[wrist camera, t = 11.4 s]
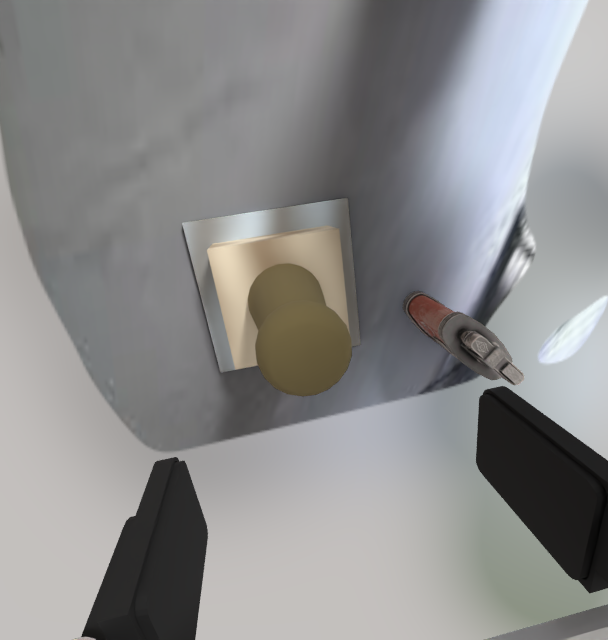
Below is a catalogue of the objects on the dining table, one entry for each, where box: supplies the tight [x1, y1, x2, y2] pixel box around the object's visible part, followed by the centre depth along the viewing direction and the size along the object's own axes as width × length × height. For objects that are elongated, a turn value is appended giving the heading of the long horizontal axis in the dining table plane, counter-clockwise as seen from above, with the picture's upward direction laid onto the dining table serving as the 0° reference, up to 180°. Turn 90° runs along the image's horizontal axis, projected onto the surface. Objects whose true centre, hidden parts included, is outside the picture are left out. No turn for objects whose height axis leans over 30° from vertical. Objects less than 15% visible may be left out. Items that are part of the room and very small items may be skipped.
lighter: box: [403, 291, 524, 385], centre depth 30 cm, size 8×3×10 cm, turn 51°
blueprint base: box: [182, 198, 361, 372], centre depth 29 cm, size 14×14×5 cm
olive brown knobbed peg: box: [248, 263, 352, 396], centre depth 22 cm, size 6×6×11 cm
